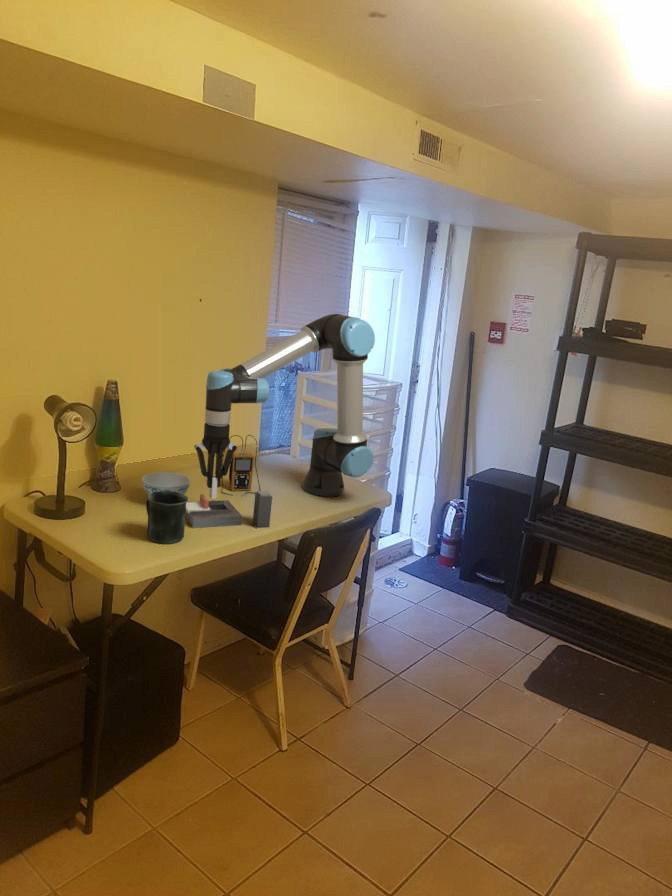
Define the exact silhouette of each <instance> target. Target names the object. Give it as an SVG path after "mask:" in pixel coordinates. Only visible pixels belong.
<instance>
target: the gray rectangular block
mask: <svg viewBox="0 0 672 896" xmlns="http://www.w3.org/2000/svg"><path fill="white" fill-rule="evenodd" d="M256 492H257V493H256ZM256 492H254V495H255V496H254V503H253V515H252V524H253V525H254V527H257V528H256V529H260V528H262V529H263V528H270V524H271V523H270V522H271V515H272V514H271V513H272V504H273V502H272V501H273V495H272V494H271V492H269V491H268V490H257V491H256Z"/></svg>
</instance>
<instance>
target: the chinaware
mask: <svg viewBox="0 0 672 896" xmlns="http://www.w3.org/2000/svg"><path fill="white" fill-rule="evenodd" d="M141 482H142V487H143V490H144V491H145V492H146V494H147V496H148V495H149V494H151V493H154V492H159V491H172V492H177V493H181V494H183V495H186V493H187V491H188V489H189V487H190V483H191V479H190V477H188V476H187V475H185V474H181V473H176V472H169V471H168V472H167V471H159V472H158V471H157V472H149V473H147V474H145V475H143V476H142V478H141Z"/></svg>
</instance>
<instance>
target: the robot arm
mask: <svg viewBox="0 0 672 896" xmlns="http://www.w3.org/2000/svg"><path fill="white" fill-rule="evenodd" d="M375 339H376V335H375V332H374V329H373V327H372V325H370V324H369V323H368V321H366V320H364V319H361V318H359V317H355V316H349V315H344V314H340V313H331V314H328V315H324V316H322V317H320V318H317V319H315V320H313V321H311V322H310V323H308V324H306V325H304V326H302V327H301V329H300V331H299V332H297V333H296V334H293V335H292V336H290V337H288V338H285V340H283V341H281V342H279V343H277V344H275V345H274V346H272V347H270V348H268V349H266V350H264V351H262V352H260V353H258V354H257V355H255V356H253V357H251V358H249V359H247V360H246V361H244V362H242V363H240V364H238V365H236V366H234V367H232V368H221V369H219V370H213V371H209V372H208V374H207V378H206V386H205V388H206V390H205V391H206V392H205V393H206V394H205V409H204V411H205V413H204V422H205V423H204V428H203V437H202V440H201V442H200V443H198V444H194V446H193V447H194V449H195V450H196V452H197V453H196V454H197V457H198V458H197V459H198V463H199V467H200V472H201V475H202V476H203V477H206V478H207V479H206V486H207V488H208V489H209V495H208V496H209V497H210V499H211V500H213V499H214V500H215V499H217V496H218V495H217V494H218V493H217V492H218V488H220V487H221V481H222V476H223V477H224V476H225V477H226V476H227V475H228V473H229V470H230V463H231V460H232V456H233V453H235V452H236V450H237V449H238V447H237V445H236V444H235V443H232V442H231V438H230V423H231V413H232V412H231V411H232V404H261V403H265V402H267V400H268V399H269V397H270V391H271V389H270V385H269V382H268V380H267V379H265V378H266V377H269V376H270V375H272V374H273V373H275V372H278V371H279V370H281V369H283V368H284V367H287V366H289V364H291V363H294V362H296V361H297V360H299V359H301V358H303V357H304V356H306V355H307V354H309V353H318V352H320V351H321V350H325V349H327V350H328V349H331V350H332V354H331V355H332V361H333V362H335V363H336V366H337V367H336V374H337V375H336V379H337V381H336V383H337V385H336V386H337V387H336V388H337V390H336V392H337V394H336V396H337V398H336V399H337V401H336V403H337V404H336V405H337V411H336V412H337V415H336V416H337V417H336V418H337V421H336V423H337V428H331V427H329V428H327V427H326V428H325V427H324V428H317V429H316V430H314V432H313V436H312V444H311V455H310V465H309V469H308V471H307V474H306V476H305V478H304V480H303V482H302V489H303V490H304V492H306V491H307V492H306V493H308V492H309V493H308V494H310V493H312V494H311V495H314V494H315V495H314V496H318V495H321V496H320V497H326V496H334V497H338V496H337V495H340V494H342V493H343V492H344V493H345V483H344V480H343V479H344V478H343V475H344V476H347V477H349V478H354V479H355V478H360V477H362V476H364V475H365V474H366V473H368V471H369V470H370V469H371V467H372V465H373V464H374V463H373V462H374V453H373V451H372V449H371V448H369V447H368V437H367V434H365V433H364V432H363V428H364V427H363V425H364V423H363V421H364V418H363V417H364V409H363V408H364V364H365V362H366V361H367V360H368V359H369V358H368V357H369V355H368V354H370V353H371V352H372V349H374V346H375V341H376V340H375ZM229 438H230V439H229ZM204 448H205V449H206V451H207V466H206V459H205V455H204ZM226 449H227V451H226ZM224 450H225V451H226V453H225V452H224ZM224 453H225V455H224V459H223V454H224ZM222 460H223V466H222ZM214 463H215V464H214ZM214 465H215V467H214ZM214 469H215V471H214ZM214 474H215V475H214ZM344 493H343V494H344ZM343 494H342V495H343ZM340 496H341V495H340Z"/></svg>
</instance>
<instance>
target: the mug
mask: <svg viewBox="0 0 672 896" xmlns="http://www.w3.org/2000/svg"><path fill="white" fill-rule="evenodd" d="M186 502H189V498H188V496H186V494H184V495H183V494H181V493H177V492H172V491H159V492H154V493H151V494H149V495H148V494H147V500H146V504H145V505H146V507H145V508H146V514H147V529H146V535H147V538H148V539H149V540H150V541H151V542H154V543H157V544H164V545H165V544H167V545H170V544H171V545H172V544H177V543H178V542H181V541H182V540H184V537H185V528H186V527H185V523H186V517H185V513H186Z"/></svg>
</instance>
